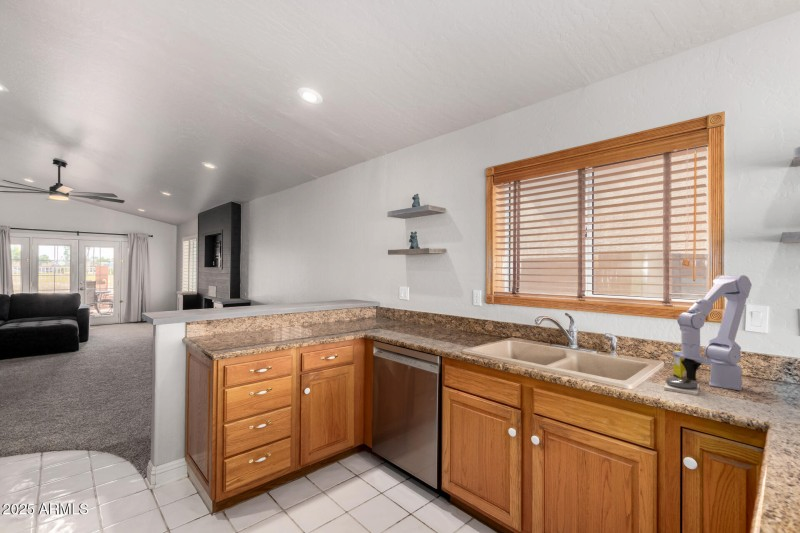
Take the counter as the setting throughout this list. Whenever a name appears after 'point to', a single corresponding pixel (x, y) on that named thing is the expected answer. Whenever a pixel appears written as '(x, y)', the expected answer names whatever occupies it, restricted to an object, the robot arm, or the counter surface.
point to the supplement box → (678, 366)
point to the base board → (681, 389)
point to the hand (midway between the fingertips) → (691, 379)
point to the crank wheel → (682, 382)
